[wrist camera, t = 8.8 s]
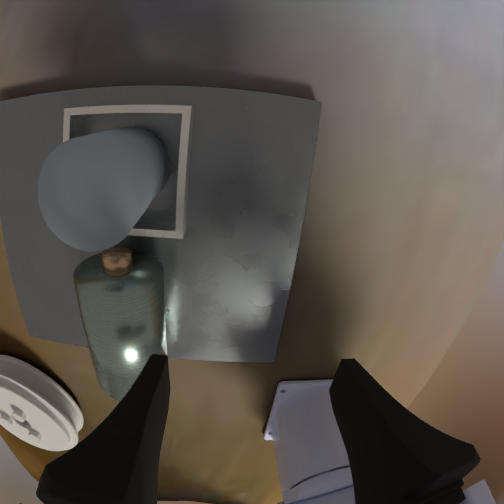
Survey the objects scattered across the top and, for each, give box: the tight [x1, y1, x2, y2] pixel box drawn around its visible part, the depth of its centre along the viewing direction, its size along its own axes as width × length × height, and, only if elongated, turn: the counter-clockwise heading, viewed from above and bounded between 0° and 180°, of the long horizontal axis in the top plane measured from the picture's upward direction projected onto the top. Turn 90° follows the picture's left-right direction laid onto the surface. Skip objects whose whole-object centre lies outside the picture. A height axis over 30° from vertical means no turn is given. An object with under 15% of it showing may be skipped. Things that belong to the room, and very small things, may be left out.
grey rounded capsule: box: [38, 127, 168, 252], centre depth 13 cm, size 4×4×6 cm
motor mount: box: [0, 85, 322, 401], centre depth 16 cm, size 18×20×6 cm
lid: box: [0, 355, 84, 451], centre depth 23 cm, size 13×13×5 cm
